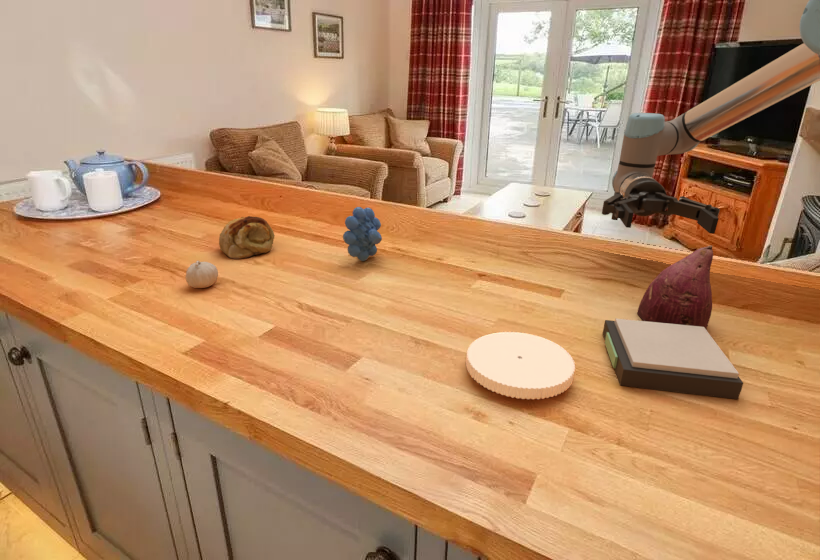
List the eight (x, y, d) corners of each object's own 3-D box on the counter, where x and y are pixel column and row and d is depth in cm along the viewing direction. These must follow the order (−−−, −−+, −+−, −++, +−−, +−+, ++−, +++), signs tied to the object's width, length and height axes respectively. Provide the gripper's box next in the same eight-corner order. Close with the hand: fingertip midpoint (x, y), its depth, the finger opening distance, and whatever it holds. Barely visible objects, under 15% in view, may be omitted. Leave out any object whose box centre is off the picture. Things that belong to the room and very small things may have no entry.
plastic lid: (472, 405, 59) (473, 388, 58) (460, 346, 72) (461, 331, 71) (587, 406, 59) (590, 389, 58) (555, 347, 72) (557, 332, 71)
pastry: (248, 263, 102) (244, 225, 99) (204, 253, 107) (198, 217, 104) (291, 243, 114) (288, 210, 111) (249, 236, 119) (245, 203, 115)
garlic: (203, 294, 87) (199, 267, 85) (180, 289, 89) (175, 262, 87) (226, 282, 93) (223, 256, 90) (204, 277, 94) (200, 252, 92)
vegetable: (699, 332, 84) (749, 254, 78) (696, 352, 75) (752, 266, 69) (638, 303, 88) (682, 227, 82) (629, 318, 79) (677, 234, 73)
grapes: (362, 273, 97) (361, 215, 93) (336, 266, 101) (334, 209, 96) (395, 257, 106) (396, 202, 102) (370, 251, 110) (370, 198, 105)
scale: (699, 343, 74) (705, 324, 73) (738, 399, 61) (745, 377, 60) (600, 333, 76) (603, 314, 75) (617, 385, 64) (622, 363, 62)
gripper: (701, 216, 103) (744, 249, 84) (578, 208, 107) (592, 238, 88) (710, 180, 100) (757, 206, 81) (584, 173, 105) (599, 197, 85)
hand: (671, 223), depth 85 cm, fingers open, 13 cm apart
